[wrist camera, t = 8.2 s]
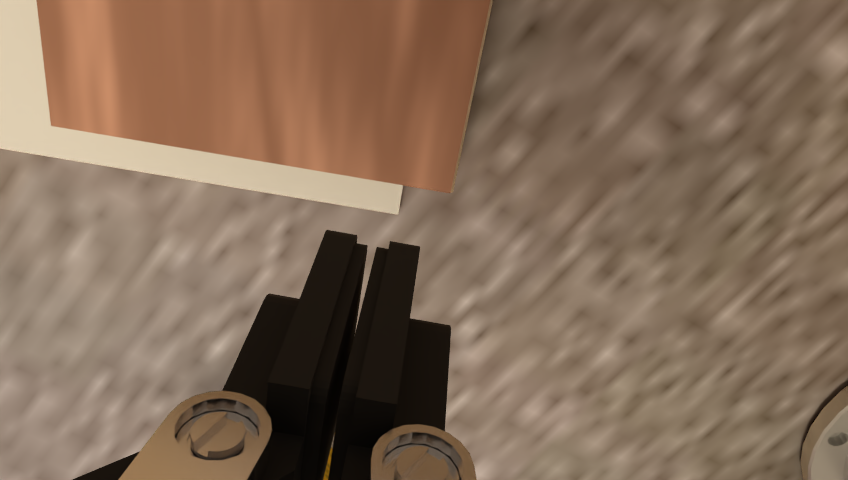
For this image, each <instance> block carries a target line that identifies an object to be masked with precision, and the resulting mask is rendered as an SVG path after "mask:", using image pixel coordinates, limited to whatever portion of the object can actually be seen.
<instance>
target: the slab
mask: <svg viewBox="0 0 848 480" xmlns="http://www.w3.org/2000/svg"><path fill="white" fill-rule="evenodd" d="M36 1H37V9H38V18H39V27H40V35H41V44H42V53H43V61H44V70H45V79H46V87H47V96H48V105H49V113H50V122H51V126H54V127H60V128H66V129H72V130H78V131H84V132H90V133H96V134H102V135H108V136H114V137H120V138H126V139H131V140H137V141H143V142H149V143H155V144H161V145H167V146H173V147H179V148H185V149H191V150H197V151H203V152H209V153H214V154H220V155H226V156H232V157H238V158H244V159H250V160H256V161H262V162H268V163H274V164H280V165H286V166H292V167H297V168H303V169H309V170H315V171H321V172H327V173H333V174H339V175H345V176H351V177H357V178H363V179H369V180H375V181H380V182H386V183H392V184H398V185H404V186H410V187H416V188H422V189H428V190H434V191H440V192H446V193H451V192H453V189H454V184H455V179H456V175H457V170H458V165H459V160H460V156H461V151H462V146H463V141H464V137H465V132H466V127H467V122H468V117H469V113H470V108H471V103H472V98H473V94H474V89H475V84H476V79H477V75H478V70H479V65H480V60H481V56H482V51H483V46H484V41H485V36H486V32H487V27H488V22H489V17H490V13H491V8H492V3H493V0H36Z"/></svg>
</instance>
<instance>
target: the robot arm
mask: <svg viewBox="0 0 848 480" xmlns="http://www.w3.org/2000/svg"><path fill="white" fill-rule="evenodd" d="M419 251H420V247H419V246H414V245H408V244H403V243H397V242H391V241H390V245H389V249H385V248H379V247H377V249H376V252H375V257H374V261H373V265H372V269H371V273H370V277H369V281H368V285H367V289H366V293H365V297H364V301H363V305H362V309H361V313H360V317H359V321H358V325H357V329H356V323H357V316H358V309H359V302H360V295H361V289H362V282H363V275H364V268H365V261H366V255H367V245H362V244H357V235H352V234H347V233H341V232H336V231H330V230H326V232H325V234H324V237H323V240H322V242H321V245H320V247H319V250H318V253H317V255H316V258H315V260H314V263H313V266H312V268H311V271H310V273H309V276H308V279H307V281H306V284H305V286H304V289H303V292H302V294H301V297H300V299H297V298H291V297H285V296H280V295H274V294H268V295H267V296H266V297H265V299H264V301H263V303H262V305H261V308H260V310H259V312H258V314H257V316H256V319H255V321H254V323H253V325H252V327H251V329H250V332H249V334H248V336H247V338H246V340H245V343H244V345H243V347H242V349H241V351H240V353H239V356H238V358H237V360H236V362H235V364H234V367H233V369H232V371H231V373H230V375H229V377H228V380H227V382H226V384H225V386H224V388H223V391H213V392H206V393H203V394H199V395H195V396H193V397H191V398H189V399H187V400H185V401H183V402H181V403H180V404H179V405H178V406H177V407H176V408H174V409H173V410H172V411H171V412H170V413H169V414H168V416H167V417H166V418H165V420H164V421H163V422H162V424H161V425H160V426H159V427H158V429H157V430H156V431H155V433H154V434H153V435H152V437H151V438H150V439H149V440H148V442H147V443H146V444H145V446H144V447H143V448H142V450H141V451H140V452H137V453H135V454H133V455H130V456H128V457H125V458H123V459H121V460H118V461H116V462H114V463H111V464H109V465H106V466H104V467H102V468H99V469H97V470H94V471H92V472H90V473H87V474H85V475H82V476H80V477H78V478H75V479H73V480H323V478H324V474H325V470H326V466H327V462H328V458H329V454H330V450H331V445H332V441H333V437H334V442H333V449H332V456H331V463H330V470H329V477H328V480H476V474H475V468H474V464H473V461H472V459H471V456H470V453H469V452H468V451H467V449H466V448H465V447H464V446H463V444H462V443H461V442H460V441H459V440H457V439H456V438H455V437H453V436H452V435H451V434H449V433H447V432H445V417H446V401H447V385H448V369H449V352H450V336H451V327H450V325H444V324H438V323H433V322H427V321H421V320H416V319H410V313H411V306H412V299H413V292H414V286H415V279H416V272H417V265H418V258H419ZM355 330H356V333H355ZM354 336H355V337H354ZM334 433H335V434H334ZM801 468H802V475H803V479H804V480H848V386H847V387H845V388H844V389H843V390H841V391H840V392H839V393H838V394H837V395H836V396H835V397H834V398H833V399H832V400H831V401H830V402H829V403H828V404H827V405H826V406H825V407H824V408H823V409H822V411H821V412H820V414H819V415H818V417H817V418H816V420H815V421H814V422H813V424H812V425H811V427H810V429H809V431H808V434H807V436H806V439H805V441H804V443H803V448H802V455H801Z"/></svg>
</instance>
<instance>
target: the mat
mask: <svg viewBox="0 0 848 480" xmlns="http://www.w3.org/2000/svg"><path fill="white" fill-rule="evenodd" d="M0 148H1V149H7V150H13V151H19V152H25V153H31V154H37V155H43V156H49V157H55V158H61V159H67V160H73V161H79V162H85V163H91V164H97V165H103V166H109V167H115V168H121V169H127V170H133V171H139V172H145V173H151V174H157V175H163V176H169V177H175V178H181V179H187V180H193V181H199V182H205V183H211V184H217V185H223V186H229V187H235V188H241V189H247V190H253V191H259V192H265V193H271V194H277V195H283V196H289V197H295V198H301V199H307V200H313V201H319V202H325V203H331V204H337V205H343V206H349V207H355V208H361V209H367V210H373V211H379V212H385V213H391V214H397V215H398V213H399V207H400V201H401V195H402V189H403V185H398V184H392V183H386V182H380V181H375V180H369V179H363V178H357V177H351V176H345V175H339V174H333V173H327V172H321V171H315V170H309V169H303V168H297V167H292V166H286V165H280V164H274V163H268V162H262V161H256V160H250V159H244V158H238V157H232V156H226V155H220V154H214V153H209V152H203V151H197V150H191V149H185V148H179V147H173V146H167V145H161V144H155V143H149V142H143V141H137V140H131V139H126V138H120V137H114V136H108V135H102V134H96V133H90V132H84V131H78V130H72V129H66V128H60V127H54V126H51V122H50V113H49V105H48V96H47V87H46V79H45V70H44V61H43V53H42V44H41V35H40V27H39V18H38V9H37V1H36V0H0Z"/></svg>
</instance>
